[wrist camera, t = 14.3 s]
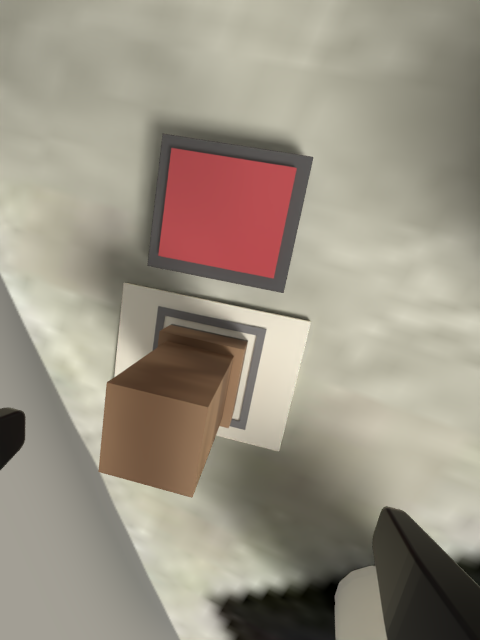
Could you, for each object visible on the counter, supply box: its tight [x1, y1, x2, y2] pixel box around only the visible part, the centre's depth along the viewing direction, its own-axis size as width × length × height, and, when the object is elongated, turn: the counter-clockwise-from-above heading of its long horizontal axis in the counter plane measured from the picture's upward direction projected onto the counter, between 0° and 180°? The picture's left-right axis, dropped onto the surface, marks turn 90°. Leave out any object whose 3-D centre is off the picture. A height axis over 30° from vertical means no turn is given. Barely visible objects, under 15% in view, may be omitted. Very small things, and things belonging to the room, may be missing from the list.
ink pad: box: [148, 134, 313, 293], centre depth 17 cm, size 8×7×2 cm
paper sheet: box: [114, 283, 311, 451], centre depth 19 cm, size 12×9×1 cm
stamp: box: [99, 324, 248, 497], centre depth 15 cm, size 5×5×8 cm
